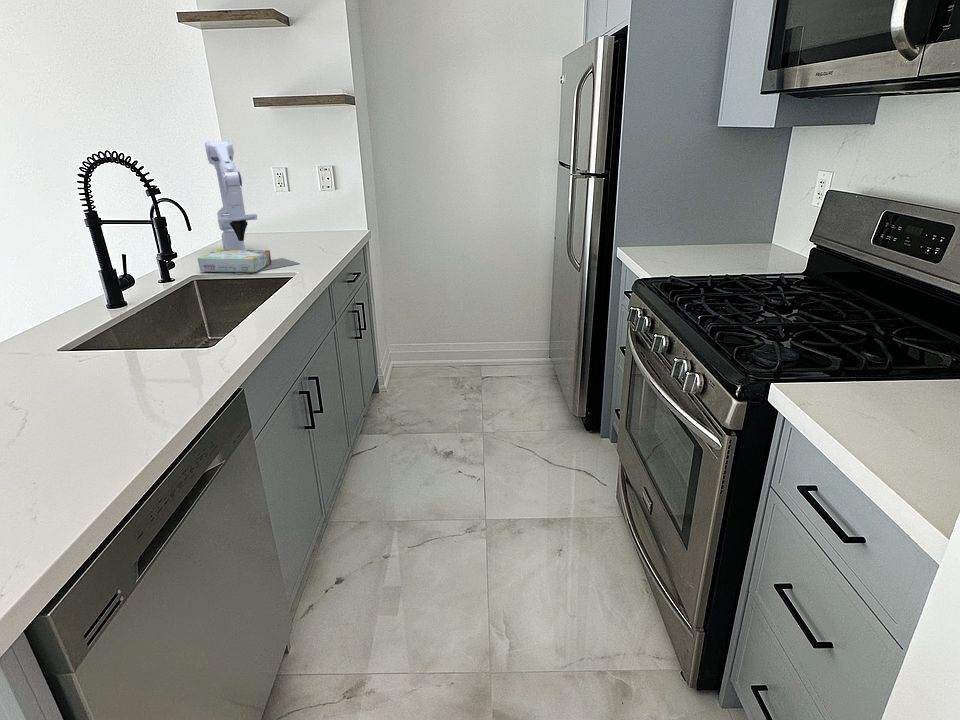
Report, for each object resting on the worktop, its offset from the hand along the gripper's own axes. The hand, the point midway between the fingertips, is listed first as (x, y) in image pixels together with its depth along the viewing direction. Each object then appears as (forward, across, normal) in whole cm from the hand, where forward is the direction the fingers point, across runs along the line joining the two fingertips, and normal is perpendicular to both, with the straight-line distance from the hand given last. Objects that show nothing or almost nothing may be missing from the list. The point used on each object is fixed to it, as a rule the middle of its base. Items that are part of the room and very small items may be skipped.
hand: (241, 240), depth 240 cm
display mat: (+8, +1, -13) cm, 15 cm away
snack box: (+5, -2, -4) cm, 7 cm away
